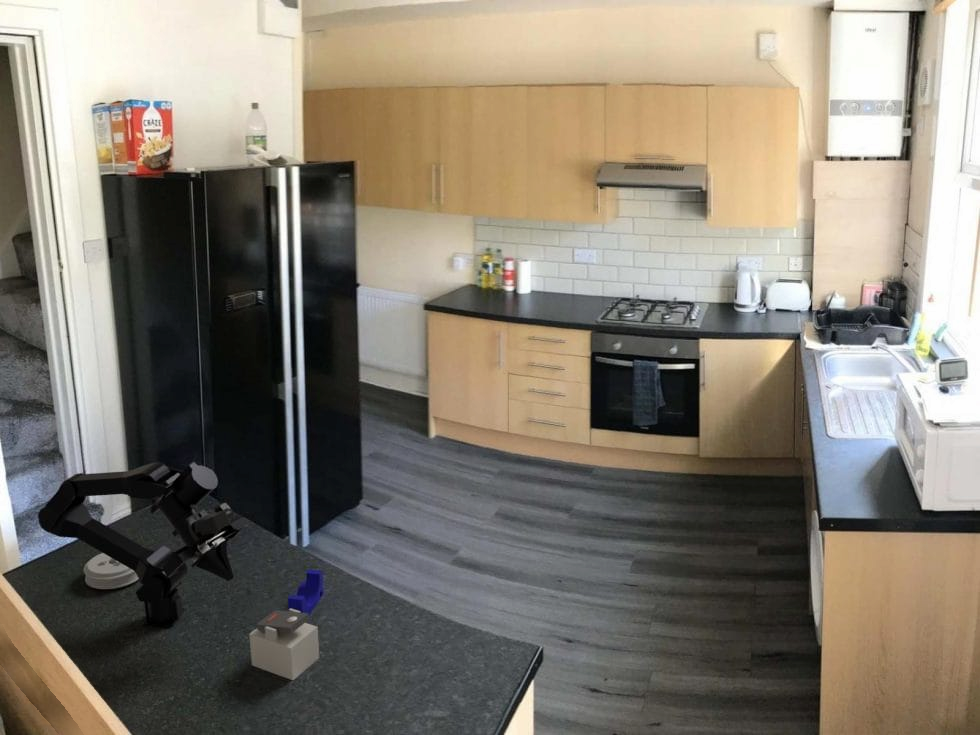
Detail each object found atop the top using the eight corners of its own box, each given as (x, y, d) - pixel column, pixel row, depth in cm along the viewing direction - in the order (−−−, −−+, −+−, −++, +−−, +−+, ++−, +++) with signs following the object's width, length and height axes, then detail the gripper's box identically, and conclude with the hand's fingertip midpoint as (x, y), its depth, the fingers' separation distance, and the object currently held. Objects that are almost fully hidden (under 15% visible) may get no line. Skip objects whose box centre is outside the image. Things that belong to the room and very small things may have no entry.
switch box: (252, 665, 180) (248, 622, 177) (279, 643, 187) (276, 602, 184) (293, 680, 175) (290, 637, 173) (319, 658, 182) (316, 616, 179)
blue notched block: (303, 593, 205) (302, 568, 204) (323, 595, 205) (322, 570, 203) (282, 622, 194) (280, 597, 192) (303, 625, 193) (301, 599, 192)
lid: (73, 582, 209) (70, 562, 208) (121, 559, 220) (119, 539, 218) (110, 598, 203) (107, 578, 201) (157, 573, 213) (155, 554, 212)
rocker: (257, 630, 178) (255, 623, 178) (276, 615, 183) (275, 609, 183) (291, 633, 174) (289, 627, 174) (309, 619, 179) (308, 612, 179)
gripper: (167, 515, 173) (217, 582, 172) (236, 479, 189) (282, 540, 188) (141, 544, 179) (189, 609, 178) (210, 506, 195) (255, 565, 194)
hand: (231, 579), depth 184 cm, fingers closed
